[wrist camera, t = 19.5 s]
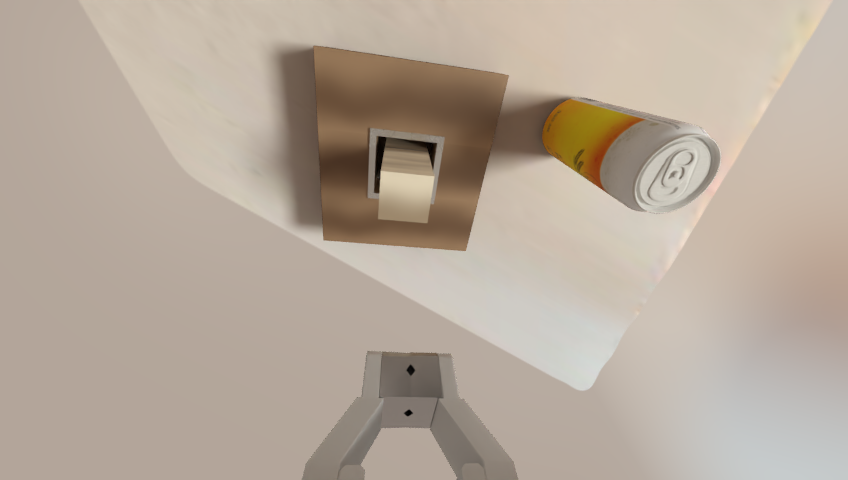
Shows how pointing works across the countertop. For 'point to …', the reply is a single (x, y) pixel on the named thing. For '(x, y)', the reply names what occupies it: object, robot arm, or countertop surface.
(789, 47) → the countertop surface
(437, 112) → the walnut board
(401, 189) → the birch peg
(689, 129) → the beer can
